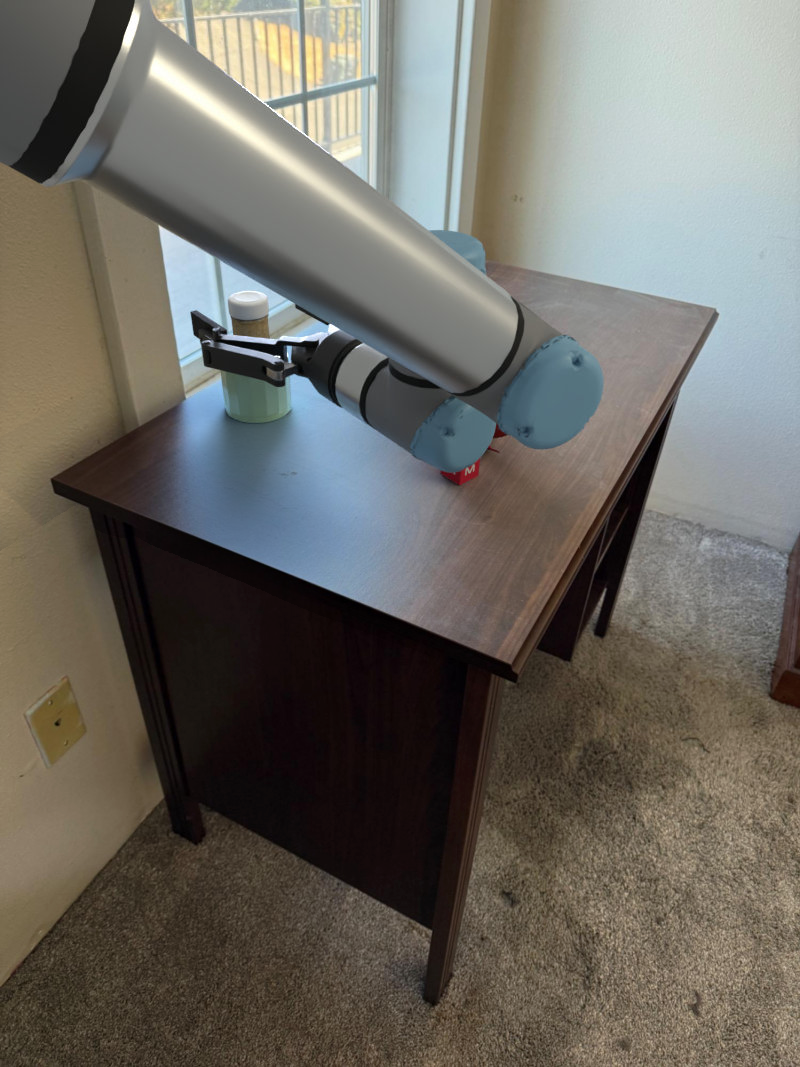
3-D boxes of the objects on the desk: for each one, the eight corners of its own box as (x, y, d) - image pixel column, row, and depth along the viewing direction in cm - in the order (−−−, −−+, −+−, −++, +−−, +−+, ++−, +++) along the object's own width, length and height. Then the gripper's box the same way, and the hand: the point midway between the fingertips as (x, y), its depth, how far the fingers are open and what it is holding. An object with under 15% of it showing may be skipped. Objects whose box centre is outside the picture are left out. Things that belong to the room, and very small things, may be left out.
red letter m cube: (478, 476, 83) (481, 453, 81) (459, 485, 82) (461, 462, 80) (459, 464, 85) (461, 442, 83) (440, 473, 83) (442, 450, 82)
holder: (226, 425, 90) (219, 372, 86) (224, 394, 96) (218, 343, 92) (294, 420, 92) (291, 368, 87) (288, 389, 98) (284, 339, 94)
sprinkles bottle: (274, 391, 96) (266, 288, 87) (277, 409, 92) (269, 303, 84) (238, 394, 95) (226, 290, 86) (239, 411, 91) (227, 304, 83)
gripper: (256, 449, 69) (152, 367, 82) (450, 376, 82) (335, 315, 95) (249, 375, 65) (140, 300, 77) (456, 310, 78) (334, 255, 90)
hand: (248, 308), depth 86 cm, fingers open, 13 cm apart
